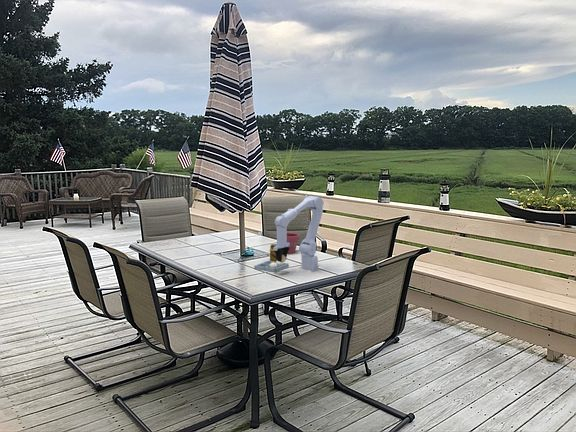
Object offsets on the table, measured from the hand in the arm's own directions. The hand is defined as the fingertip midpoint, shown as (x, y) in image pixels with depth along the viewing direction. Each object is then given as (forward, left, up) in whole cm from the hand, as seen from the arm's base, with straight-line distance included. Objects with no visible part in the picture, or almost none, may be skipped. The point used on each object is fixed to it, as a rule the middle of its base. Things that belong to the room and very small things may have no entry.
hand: (281, 260), depth 270 cm
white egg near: (+8, -9, -7) cm, 14 cm away
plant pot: (+26, -50, -8) cm, 57 cm away
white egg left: (+8, -2, -7) cm, 11 cm away
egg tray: (+11, -6, -8) cm, 15 cm away
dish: (0, 0, -8) cm, 8 cm away
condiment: (+19, -20, -9) cm, 28 cm away
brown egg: (0, 0, -1) cm, 1 cm away
